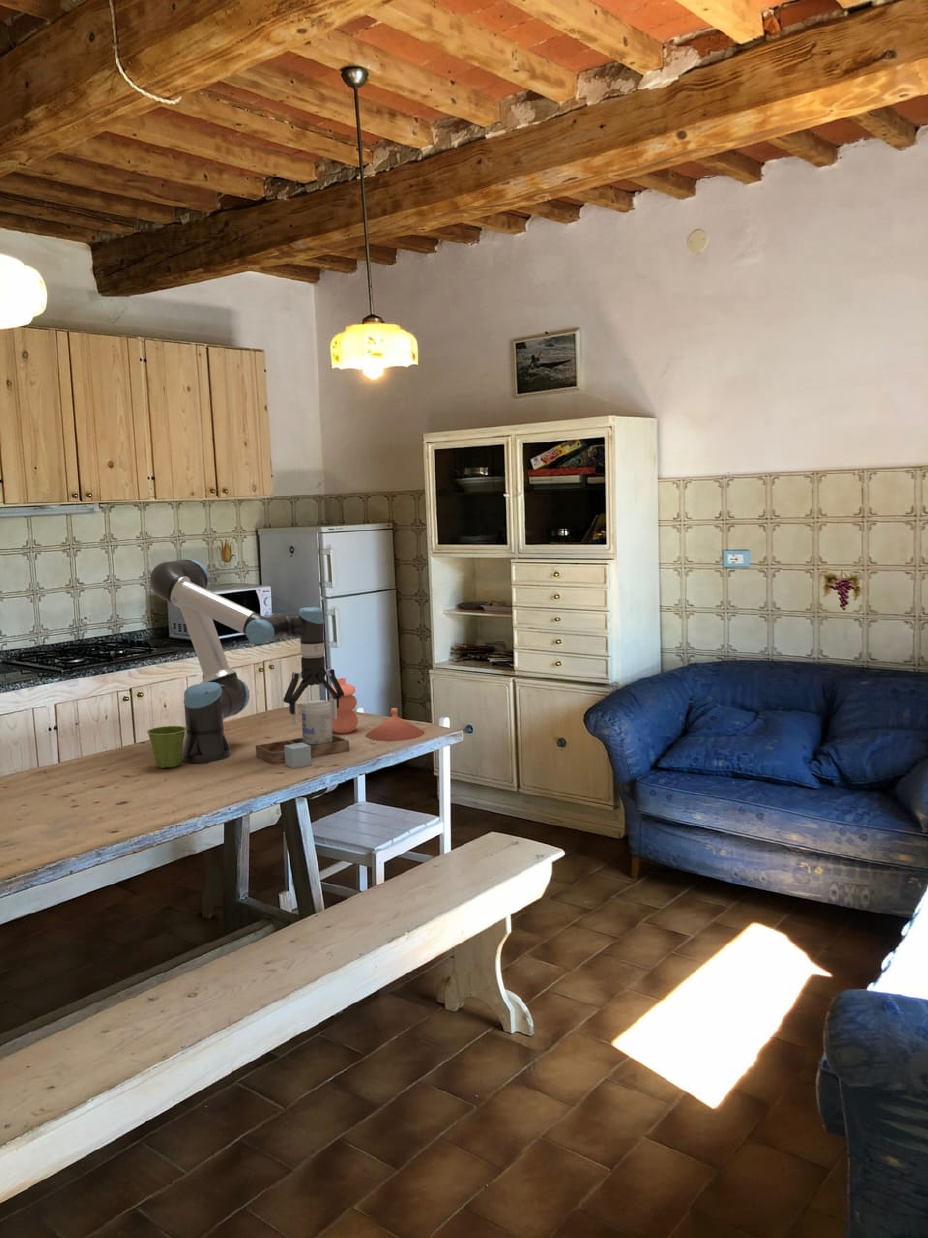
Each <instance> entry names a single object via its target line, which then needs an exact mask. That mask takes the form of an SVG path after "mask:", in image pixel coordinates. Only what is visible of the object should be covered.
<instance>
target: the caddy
mask: <svg viewBox="0 0 928 1238" xmlns="http://www.w3.org/2000/svg"><path fill="white" fill-rule="evenodd" d="M332 740H333V743H328V744H322V745H316V746H311V758H315V757H321V756H327V755H332V754H338V753H343V752H348V751H350V740H349V739H346V738H344V737H341V736H339V735H336V734H333V733H332ZM296 743H303V737H299V738H298V737H297V738H293V739H286V740H279V741H275V742H269V743H268V742H266V743H262V744H261V743H260V744H256V745H255V755H256V757H258V758H260V759H262V760H264V761H267V762H268V763H270V764H272V765H277V764H282V763H285V750H284V746H285V745H290V744H296Z"/></svg>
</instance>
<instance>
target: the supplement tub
mask: <svg viewBox="0 0 928 1238" xmlns="http://www.w3.org/2000/svg"><path fill="white" fill-rule="evenodd" d="M301 724H302V725H301V726H302V727H301V729H302V730H301V733H302V738H303V743H305V744H307V745H310V746H316V745H322V744H328V743H333V740H332V734H333V730H332V709H331V702H329V700H309V701H305V702H303V703H301Z"/></svg>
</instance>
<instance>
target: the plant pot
mask: <svg viewBox="0 0 928 1238" xmlns="http://www.w3.org/2000/svg"><path fill="white" fill-rule="evenodd" d="M185 733H186V726H180V725H171V726H170V725H168V726H167V725H166V726H158V727H153V728H150V729H148V730H147V731H146V734H147V735H148V738H149V740H150V743H151V749H152V752H153V756H154V761H155V765H156V767H157V768H161V769H164V768H174V767H179V766H180V765H181V763H182V751H183V746H184V745H183V744H184V738H185Z"/></svg>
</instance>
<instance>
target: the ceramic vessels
mask: <svg viewBox="0 0 928 1238" xmlns="http://www.w3.org/2000/svg"><path fill="white" fill-rule="evenodd" d="M336 679H337V681H338V682H339V684H340V686H341V688H342V690H343V692H344V696H341V697H340V699H339V708H337V719H333V718H332V732H333V731H334V732H335V733H337V734H349V733H352V732H353V731H354V730H355V729H356V728H357V726H358V723H359V718H358V715H357V714H356V713H355V712H354V711H353V710H354V709H355V708H356V707H357V706H358V705H357V704H358V703H357V702H358V700H357V698H356V697H355V695H353V694H355V692H356V687H354V686H353V685H352V684H350V683H347V678H345V677H344V678H342V677H341V678H336ZM330 686H331V687H332V688H333V689H334V691H335V692H336V693H337V691H336V689H335V687H334V686H333V685H330ZM328 693H329V692H328ZM329 695H330V697H329V699H328V701H329V702H331V698H334V697H333V696H332V695H331V694H330V693H329ZM398 712H399V711H398V708H397V707H393V708H392V707H391V713H390V714H391V716H390V718H388V719H386V720H385V721H383V722H381V723H380V724H379V725H378V726H376V727H374V728H373V729H371V730H370V731H369V732H367V733H366V734H365V738H366V737H367V739H368V738H369V739H368V740H371V739H372V740H371V741H375V740H376V742H377V741H378V742H401V741H403V742H404V741H409V740H414V739H417V738H420V737H422V736H424V735H425V734H426V733H425V731H424V730H423V729H421V728H420V727H417V726H416V725H414V724H412V723H410V722H408V721H406V720H405V719H403V718H401V717H400V716H398Z"/></svg>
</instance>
